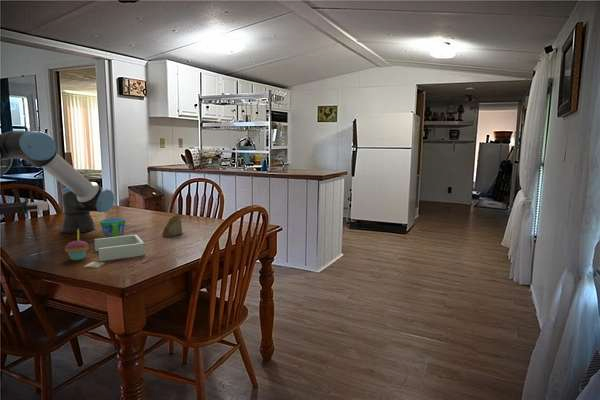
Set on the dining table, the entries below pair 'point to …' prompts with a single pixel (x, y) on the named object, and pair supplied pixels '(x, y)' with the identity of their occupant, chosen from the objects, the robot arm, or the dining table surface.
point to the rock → (173, 226)
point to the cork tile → (94, 265)
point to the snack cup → (113, 227)
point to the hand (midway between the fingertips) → (47, 205)
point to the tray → (119, 247)
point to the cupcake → (77, 248)
